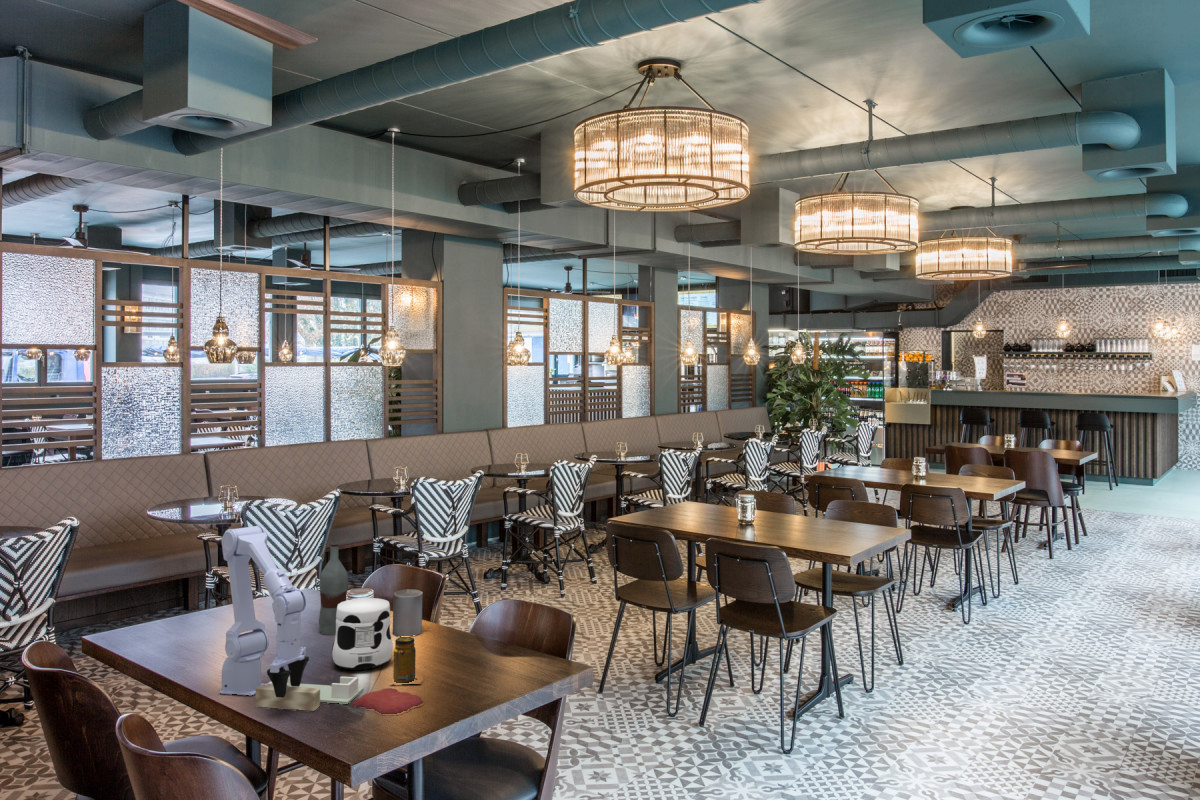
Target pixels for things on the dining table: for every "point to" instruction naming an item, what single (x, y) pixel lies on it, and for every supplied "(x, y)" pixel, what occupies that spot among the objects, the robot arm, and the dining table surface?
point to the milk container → (362, 634)
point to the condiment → (404, 660)
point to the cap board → (326, 694)
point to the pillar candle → (407, 612)
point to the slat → (288, 698)
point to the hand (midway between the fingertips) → (288, 691)
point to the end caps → (339, 687)
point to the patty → (388, 701)
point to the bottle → (332, 591)
